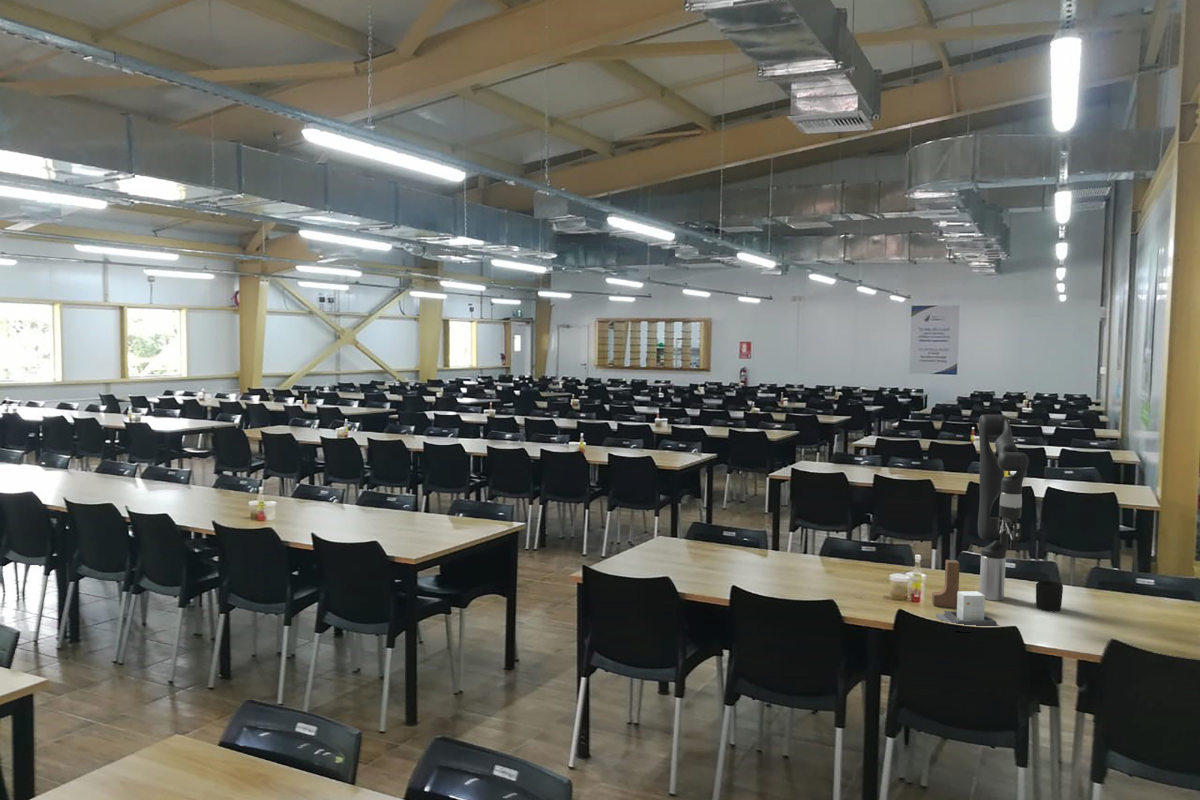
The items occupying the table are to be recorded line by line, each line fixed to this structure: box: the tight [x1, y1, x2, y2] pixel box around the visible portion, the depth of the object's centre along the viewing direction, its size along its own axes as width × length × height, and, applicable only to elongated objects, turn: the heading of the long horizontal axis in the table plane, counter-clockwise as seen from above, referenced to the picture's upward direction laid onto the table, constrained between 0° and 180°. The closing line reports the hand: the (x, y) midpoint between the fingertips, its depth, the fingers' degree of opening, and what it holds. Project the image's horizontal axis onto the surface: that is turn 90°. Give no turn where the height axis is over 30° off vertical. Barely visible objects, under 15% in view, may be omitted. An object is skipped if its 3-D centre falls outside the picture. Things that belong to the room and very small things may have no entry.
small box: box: [956, 590, 986, 620], centre depth 312 cm, size 8×6×10 cm
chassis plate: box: [935, 610, 1000, 626], centre depth 312 cm, size 18×18×3 cm
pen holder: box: [1035, 580, 1064, 613], centre depth 333 cm, size 9×9×10 cm
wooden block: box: [931, 559, 961, 609], centre depth 335 cm, size 9×4×18 cm, turn 78°
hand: (1008, 546), depth 321 cm, fingers open, 8 cm apart
